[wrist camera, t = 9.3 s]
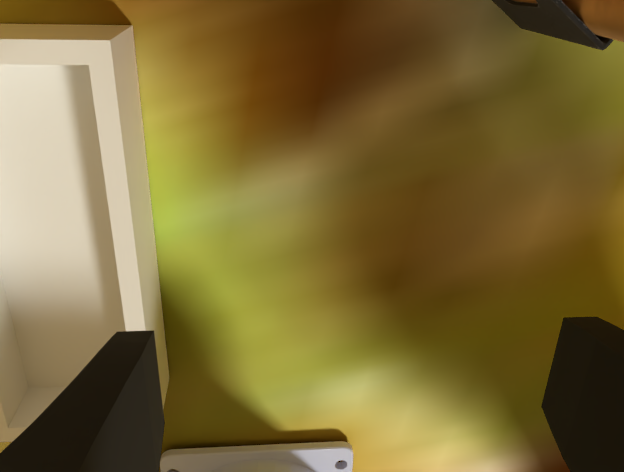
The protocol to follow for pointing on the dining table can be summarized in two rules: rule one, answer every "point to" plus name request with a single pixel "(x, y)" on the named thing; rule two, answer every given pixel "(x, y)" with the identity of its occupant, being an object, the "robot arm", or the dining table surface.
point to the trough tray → (70, 211)
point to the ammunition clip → (570, 19)
